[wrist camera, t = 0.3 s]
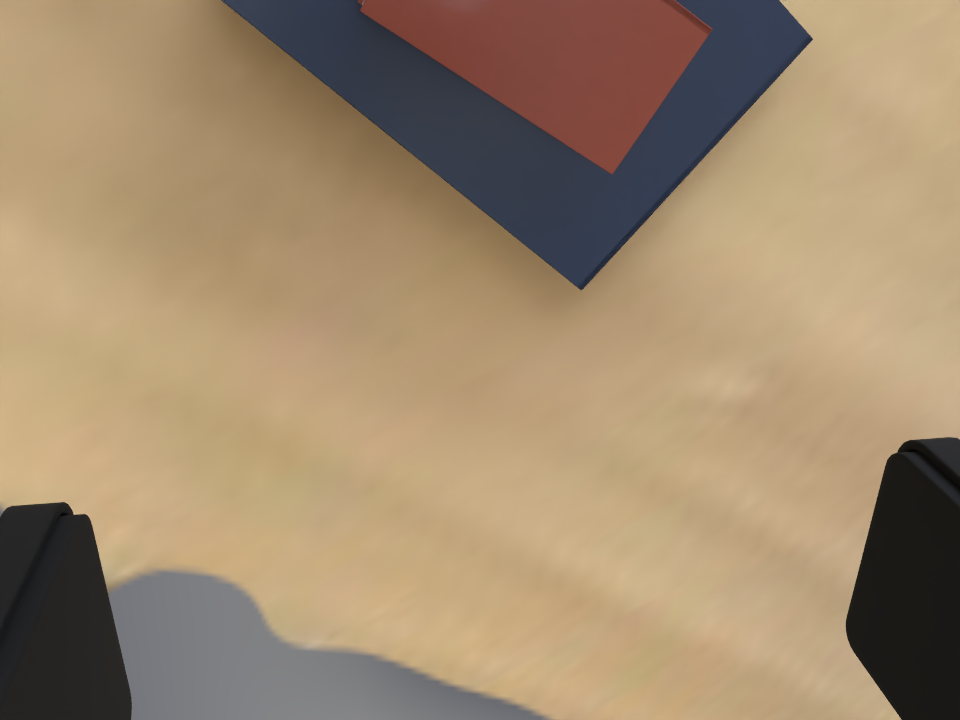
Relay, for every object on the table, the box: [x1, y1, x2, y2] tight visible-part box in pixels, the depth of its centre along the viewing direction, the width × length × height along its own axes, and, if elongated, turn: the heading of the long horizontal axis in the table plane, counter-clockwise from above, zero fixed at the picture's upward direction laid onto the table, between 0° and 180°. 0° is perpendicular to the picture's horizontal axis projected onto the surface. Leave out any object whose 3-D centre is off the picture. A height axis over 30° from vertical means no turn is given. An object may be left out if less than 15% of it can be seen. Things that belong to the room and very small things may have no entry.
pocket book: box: [358, 0, 712, 174], centre depth 32 cm, size 6×11×4 cm, turn 57°
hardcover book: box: [222, 0, 813, 290], centre depth 35 cm, size 14×20×3 cm
